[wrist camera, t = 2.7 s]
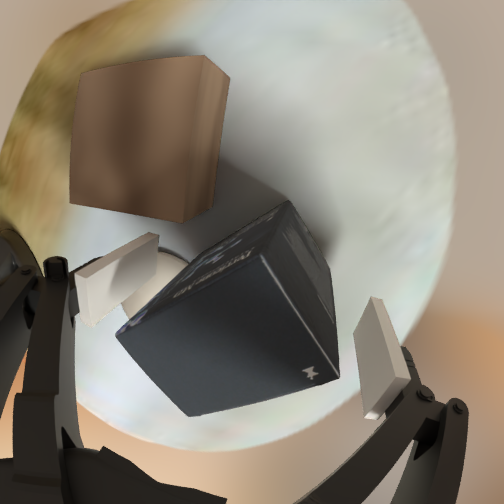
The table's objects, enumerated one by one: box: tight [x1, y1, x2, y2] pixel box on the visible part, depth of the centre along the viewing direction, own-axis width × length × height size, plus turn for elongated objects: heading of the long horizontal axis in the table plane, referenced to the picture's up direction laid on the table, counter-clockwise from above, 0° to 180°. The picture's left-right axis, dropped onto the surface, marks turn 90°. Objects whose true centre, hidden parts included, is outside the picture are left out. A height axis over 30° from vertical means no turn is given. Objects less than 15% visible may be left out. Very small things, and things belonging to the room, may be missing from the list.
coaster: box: [121, 252, 188, 320], centre depth 22 cm, size 9×9×1 cm
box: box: [115, 200, 340, 417], centre depth 14 cm, size 8×6×11 cm
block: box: [69, 55, 230, 223], centre depth 15 cm, size 9×9×5 cm
